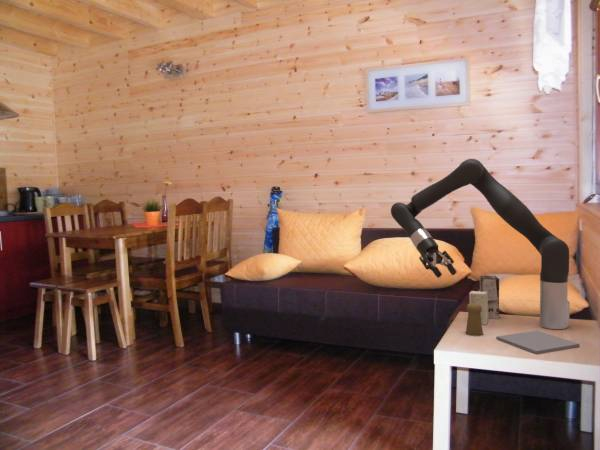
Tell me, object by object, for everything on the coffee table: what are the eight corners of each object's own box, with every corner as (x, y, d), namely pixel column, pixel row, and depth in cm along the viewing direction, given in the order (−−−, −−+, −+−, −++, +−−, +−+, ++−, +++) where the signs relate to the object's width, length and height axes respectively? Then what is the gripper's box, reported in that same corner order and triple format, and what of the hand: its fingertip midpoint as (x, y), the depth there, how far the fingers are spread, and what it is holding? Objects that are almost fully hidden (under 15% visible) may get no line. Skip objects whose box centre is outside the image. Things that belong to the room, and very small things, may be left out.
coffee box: (499, 319, 207) (499, 279, 206) (482, 318, 208) (482, 278, 207) (495, 313, 216) (495, 275, 215) (479, 313, 217) (479, 275, 216)
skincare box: (488, 322, 202) (488, 291, 201) (485, 325, 198) (485, 293, 197) (472, 320, 205) (471, 290, 204) (469, 323, 201) (469, 292, 201)
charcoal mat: (536, 333, 186) (536, 330, 186) (579, 346, 169) (579, 343, 169) (496, 339, 180) (496, 336, 180) (536, 354, 163) (536, 351, 163)
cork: (474, 336, 183) (474, 306, 183) (462, 332, 189) (461, 303, 188) (486, 334, 186) (486, 304, 185) (474, 330, 192) (473, 301, 191)
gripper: (416, 237, 198) (440, 271, 189) (441, 235, 206) (465, 267, 197) (406, 250, 202) (429, 283, 194) (430, 247, 211) (453, 278, 202)
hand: (447, 275), depth 196 cm, fingers open, 8 cm apart
